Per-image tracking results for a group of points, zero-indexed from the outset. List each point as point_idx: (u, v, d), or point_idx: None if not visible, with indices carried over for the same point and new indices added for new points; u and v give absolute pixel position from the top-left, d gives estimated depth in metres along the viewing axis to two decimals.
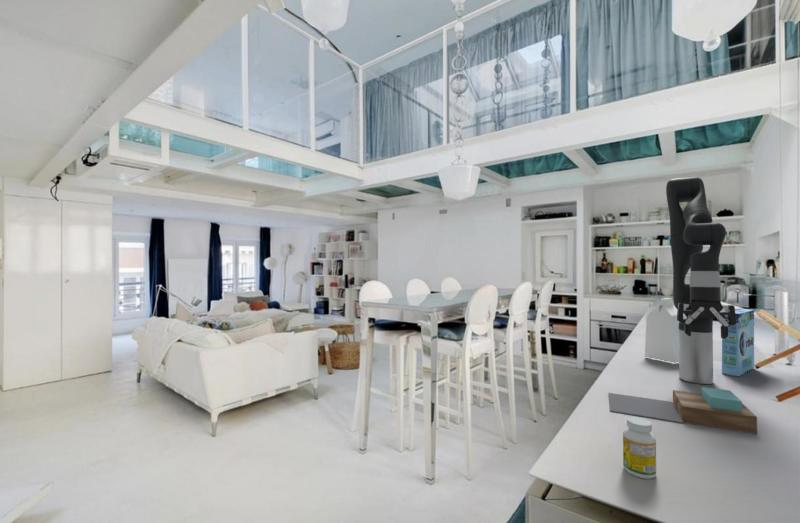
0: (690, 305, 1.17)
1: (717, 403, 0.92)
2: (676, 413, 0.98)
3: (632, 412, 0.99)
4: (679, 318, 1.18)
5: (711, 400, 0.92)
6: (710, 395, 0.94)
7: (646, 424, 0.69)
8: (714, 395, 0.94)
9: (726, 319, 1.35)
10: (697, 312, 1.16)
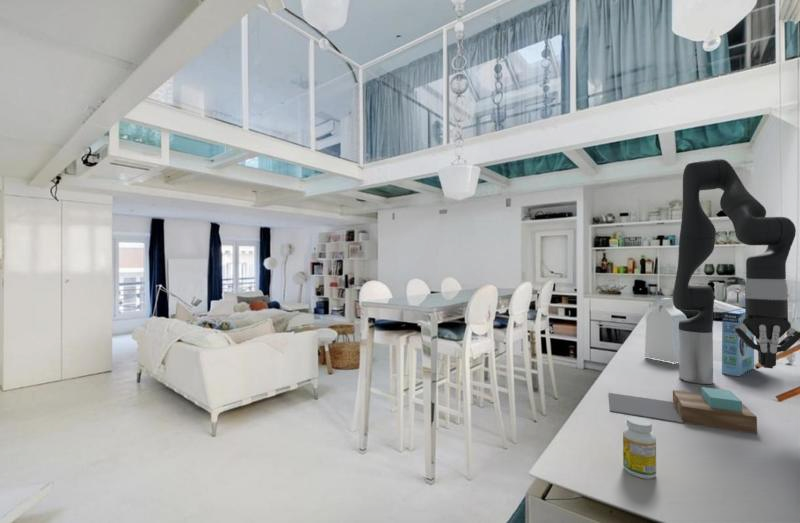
0: (747, 324, 0.92)
1: (717, 403, 0.92)
2: (676, 413, 0.98)
3: (632, 412, 0.99)
4: (752, 344, 0.91)
5: (711, 400, 0.92)
6: (710, 395, 0.94)
7: (646, 424, 0.69)
8: (714, 395, 0.94)
9: (726, 319, 1.35)
10: (762, 333, 0.90)
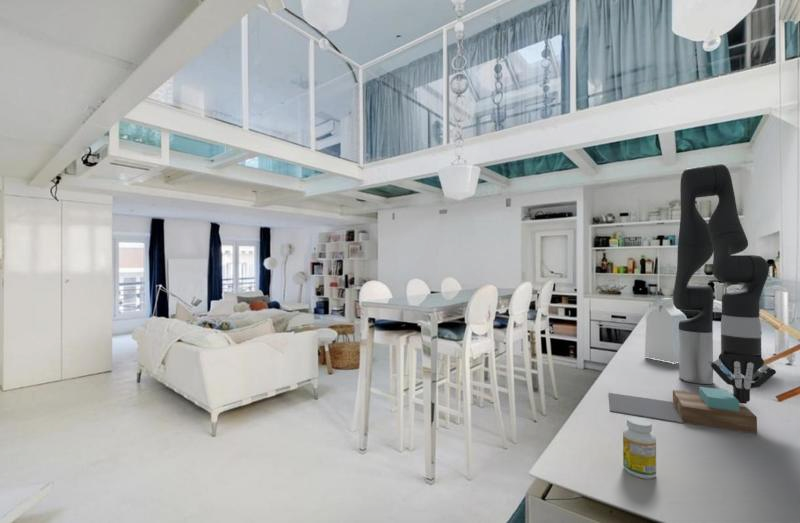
0: (722, 360, 0.94)
1: (714, 403, 0.92)
2: (676, 413, 0.98)
3: (632, 412, 0.99)
4: (727, 380, 0.93)
5: (708, 400, 0.93)
6: (707, 395, 0.94)
7: (646, 424, 0.69)
8: (711, 395, 0.94)
9: None
10: (736, 369, 0.92)
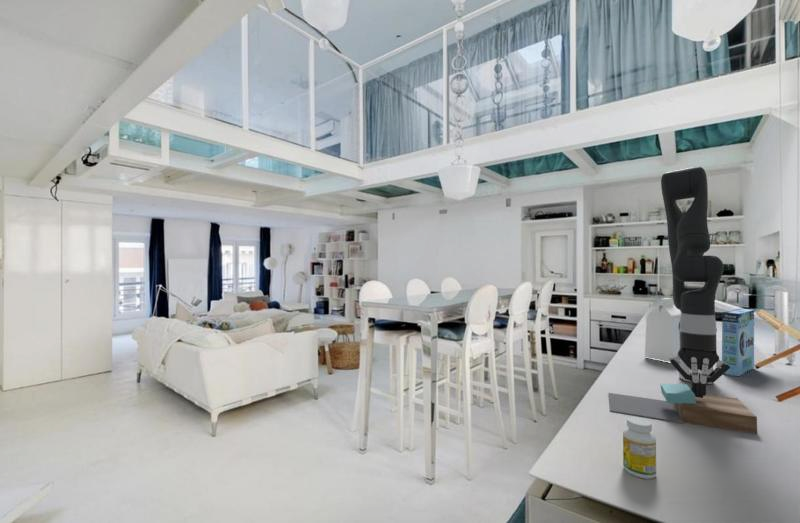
0: (680, 356, 0.98)
1: (673, 398, 0.96)
2: (676, 413, 0.98)
3: (632, 412, 0.99)
4: (685, 375, 0.97)
5: (667, 396, 0.96)
6: (666, 391, 0.98)
7: (646, 424, 0.69)
8: (670, 390, 0.98)
9: (726, 319, 1.35)
10: (693, 365, 0.96)
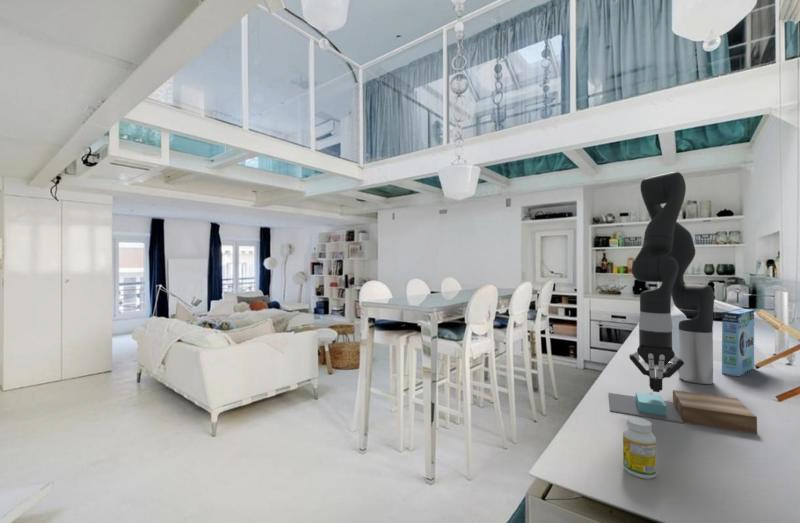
0: (639, 352, 1.03)
1: (659, 409, 0.97)
2: (676, 413, 0.98)
3: (632, 412, 0.99)
4: (643, 370, 1.02)
5: (665, 412, 0.97)
6: None
7: (646, 424, 0.69)
8: None
9: (726, 319, 1.35)
10: (650, 361, 1.01)
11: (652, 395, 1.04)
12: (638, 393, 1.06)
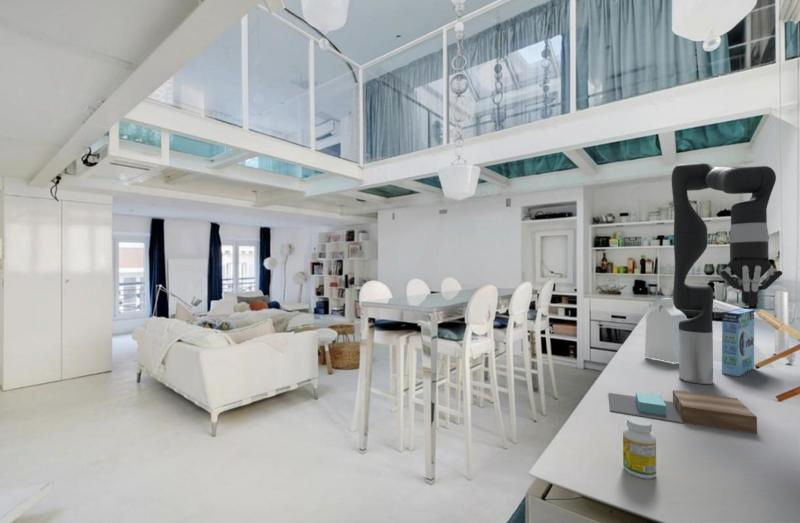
0: (731, 266, 1.00)
1: (659, 409, 0.97)
2: (676, 413, 0.98)
3: (632, 412, 0.99)
4: (736, 284, 0.99)
5: (665, 412, 0.97)
6: None
7: (646, 424, 0.69)
8: None
9: (726, 319, 1.35)
10: (745, 273, 0.98)
11: (652, 395, 1.04)
12: (638, 393, 1.06)
